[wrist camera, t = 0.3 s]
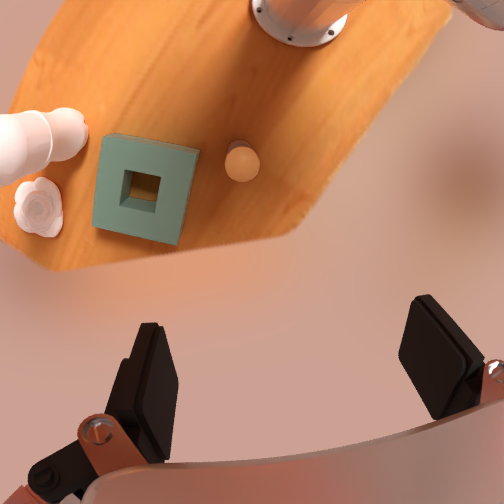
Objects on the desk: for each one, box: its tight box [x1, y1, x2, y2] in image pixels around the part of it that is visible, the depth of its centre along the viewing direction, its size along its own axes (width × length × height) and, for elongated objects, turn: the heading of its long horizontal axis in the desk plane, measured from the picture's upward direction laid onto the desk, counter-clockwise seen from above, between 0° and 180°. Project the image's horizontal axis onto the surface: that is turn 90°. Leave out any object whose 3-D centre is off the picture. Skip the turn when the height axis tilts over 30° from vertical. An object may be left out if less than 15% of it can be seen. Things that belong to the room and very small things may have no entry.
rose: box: [14, 177, 63, 237], centre depth 40 cm, size 10×4×10 cm
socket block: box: [92, 133, 200, 246], centre depth 40 cm, size 12×12×4 cm
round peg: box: [225, 139, 260, 182], centre depth 36 cm, size 3×3×11 cm
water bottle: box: [0, 108, 89, 187], centre depth 26 cm, size 7×7×25 cm
